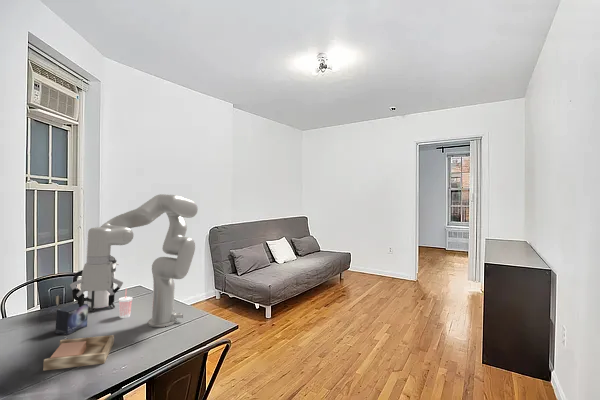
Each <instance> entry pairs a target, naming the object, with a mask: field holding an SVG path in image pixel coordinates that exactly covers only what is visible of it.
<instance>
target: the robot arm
mask: <svg viewBox="0 0 600 400" xmlns="http://www.w3.org/2000/svg"><path fill="white" fill-rule="evenodd" d="M198 209H199V208H198V205H197V203H196V202H195V201H193V200H191V199H188V198H186V197H185V198H184V197H183V196H179V195H176V194H165V193H164V194H162V193H161V194H160V193H159V194H155V195H154V196H153V197H152V198H150V199H148V200H147V201H146V202H144V203H142V204H141V205H140V206H139V207H137V208H135V209H132V210H129V211H126V212H124V213H121V214H119V215H116V216H114V217H112V218H110V219H109V220H107V221H106V222H104V223H103V224H102V225H100V226H99V227H98V226H96V227H91V228H89V229H88V231H87V232H88V233H87V245H86V247H87V248H86V250H87V251H86V263H84V265H83V268H82V270H83V272H82V274H81V278H80V279H79V280H78V279H77V281H76V282H74V283H73V282H72V283H70V284H69V287H70V289H71V290H73V292H74V293H75V294H76V295H77V297H78V301H77V303H78V304H79V307H82V306H83V305H84V304H85V301H84V298H85V294H84V293H85V292H88V291H105V290H107V291H108V292H109V293H110V295H109V303H108V305H109V306H112V303H113V304H114V303H115V294H116V293H117V292H118V291H120V289H121V288H122V286H123V285H124V282H123V281H121V280H119V279H116V277H115V278H114V272H113V264H112V263H110V261H114V258H115V256H113V257H111V256H112V255H111V249H112V246H126V245H128V244H129V243H131V242H132V241H133V239H134V232H133V230H132V229H133V228H138V227H139V228H140V227H144V226H148V225H151V223H153V222H154V221H155V220H156V219H158V218H159V217H160V216H161V215H163V214H165V213H166V216H167V218H168V222H169V225H168V229H167V233H166V235H165V239H164V241H163V244H162V251H163V253H164V254H166V255H169V256H176V257H169V256H160V257H157V258H155V260H153V262H152V265H151V272H152V279H153V281H152V282H153V287H152V307H151V309H152V311H151V312H152V313H151V318H150V319H149V320H148V321H147V323H148V326H150V327H151V328H152V327H153V328H164V327H165V326H166V327H169V325H170V326H172V325H174V324H176V323H177V319H183V318H184V313H181V312H175V309H174V307H175V289H176V288H175V281H174V280H182V279H185V277H186V276H187V275H188V274H189V271H190V268H191V265H192V261H193V258H194V255H195V252H196V242H195V240H194V239H193V238H191V237H189V236H186V233H187V229H188V226H187V222H186V219H185V218H187V219H192V218H194V217H195V216H196V215H197V214H198ZM114 283H115V285H117V286H116V288H115V287H114V288H113V287H112V286H113V284H114ZM79 284H80V289H79V288H78V285H79ZM76 285H77V287H76ZM109 306H108V307H109Z"/></svg>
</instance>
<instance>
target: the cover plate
mask: <svg viewBox="0 0 600 400" xmlns="http://www.w3.org/2000/svg"><path fill="white" fill-rule="evenodd" d="M85 350H86V341H82V342H72V343H62V344H61V345H60V344H59V346H58V347H57V348H56V349H55V351H54V352H53V353H52V355H51V356H50V357H49V358H57V357H67V356H76V355H82V354H83V353H84V351H85Z"/></svg>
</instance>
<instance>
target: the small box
mask: <svg viewBox="0 0 600 400" xmlns="http://www.w3.org/2000/svg"><path fill="white" fill-rule="evenodd" d="M88 312H89V307H88V304H87V303H84V305H83V306H82V307H79V304H78V302H75V303H72V304H70V305H67V306H63V307H61V308H58V309H56V314H55V315H56V316H55V330H54V334H56V335H62V336H68V335H71V334H73V333H76V332H77V331H79V330H82V329H84V328H87V327H88V315H89V313H88Z"/></svg>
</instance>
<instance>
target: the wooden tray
mask: <svg viewBox="0 0 600 400" xmlns="http://www.w3.org/2000/svg"><path fill="white" fill-rule="evenodd" d="M82 341H86V350H85V351H84V353H83V354H82V355H76V356H67V357H57V358H50V357H48V358H44V359H43V363H42V365H43V367H42V368H43V370H42V371H50V370H62V369H68V368H69V369H70V368H78V367H85V366H96V365H103V364H105V363H106V361H107V359H108V357H109V354H110V353H111V351H112V348H113V346H114V343H115V334H112V335H111V334H110V335H99V336H89V337H79V338H67V339H60V340H59V346H60V345H61V344H62V343H72V342H82Z"/></svg>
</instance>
